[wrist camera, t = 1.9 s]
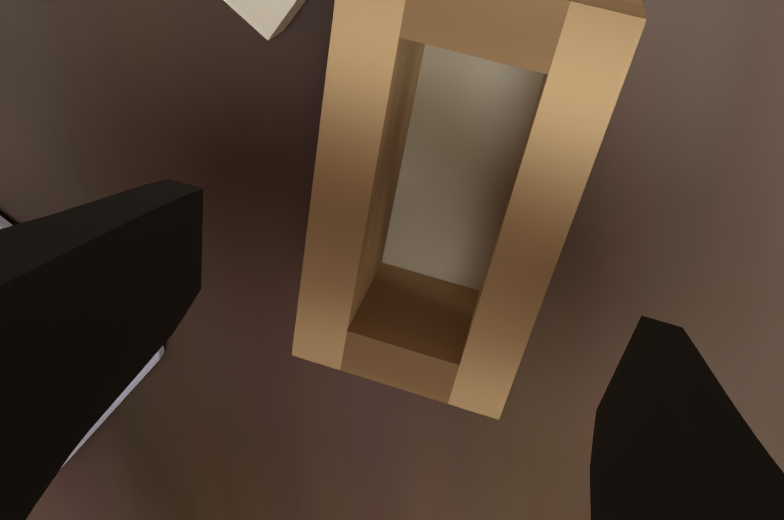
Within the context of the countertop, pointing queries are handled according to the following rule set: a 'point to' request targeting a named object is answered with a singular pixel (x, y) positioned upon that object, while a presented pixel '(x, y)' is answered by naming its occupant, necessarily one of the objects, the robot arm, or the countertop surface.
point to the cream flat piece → (267, 14)
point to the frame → (451, 183)
